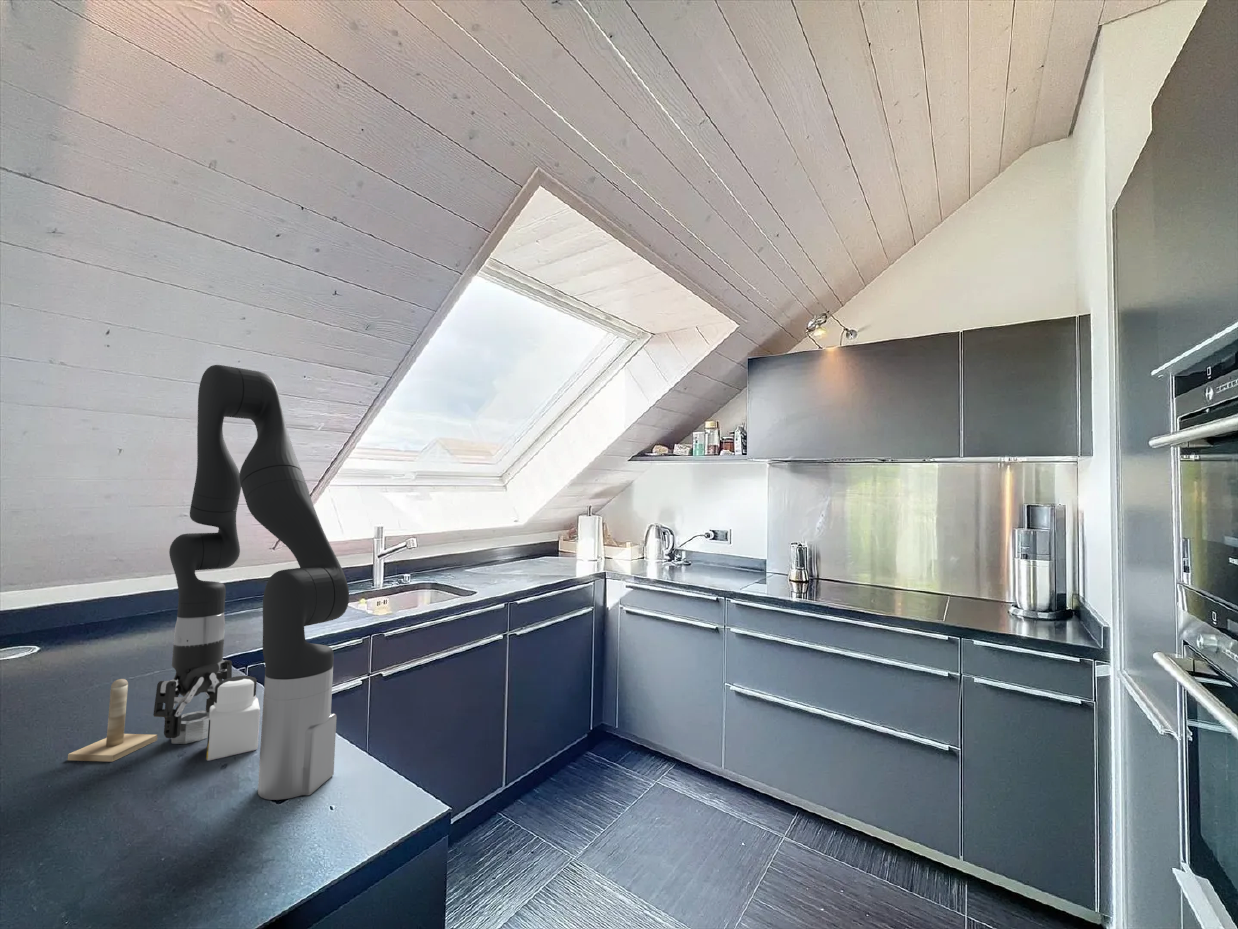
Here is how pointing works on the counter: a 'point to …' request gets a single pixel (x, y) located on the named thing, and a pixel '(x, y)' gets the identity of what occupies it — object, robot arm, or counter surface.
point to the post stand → (114, 732)
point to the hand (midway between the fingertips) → (193, 727)
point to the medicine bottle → (233, 718)
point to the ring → (193, 727)
